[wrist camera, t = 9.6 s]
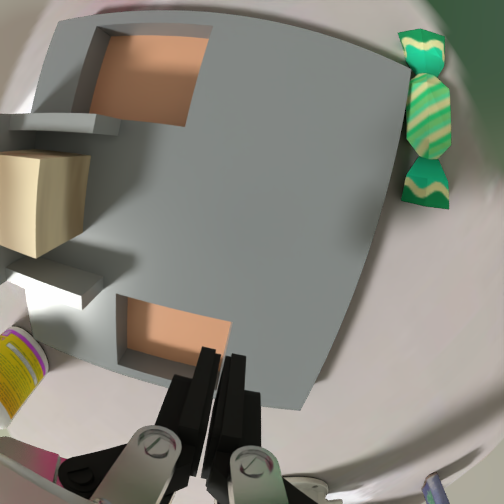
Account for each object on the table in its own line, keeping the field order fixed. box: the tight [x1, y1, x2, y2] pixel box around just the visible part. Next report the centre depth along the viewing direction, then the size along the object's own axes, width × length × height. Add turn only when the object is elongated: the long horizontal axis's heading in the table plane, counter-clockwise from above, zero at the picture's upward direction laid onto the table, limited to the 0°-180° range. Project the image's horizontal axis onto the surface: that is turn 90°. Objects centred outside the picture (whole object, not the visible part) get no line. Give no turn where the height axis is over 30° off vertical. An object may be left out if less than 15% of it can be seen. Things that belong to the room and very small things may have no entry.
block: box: [0, 149, 91, 259], centre depth 13 cm, size 5×5×5 cm
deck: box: [0, 10, 411, 411], centre depth 15 cm, size 24×26×8 cm
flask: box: [421, 472, 450, 504], centre depth 29 cm, size 9×3×11 cm, turn 18°
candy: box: [398, 29, 451, 209], centre depth 15 cm, size 12×3×4 cm
